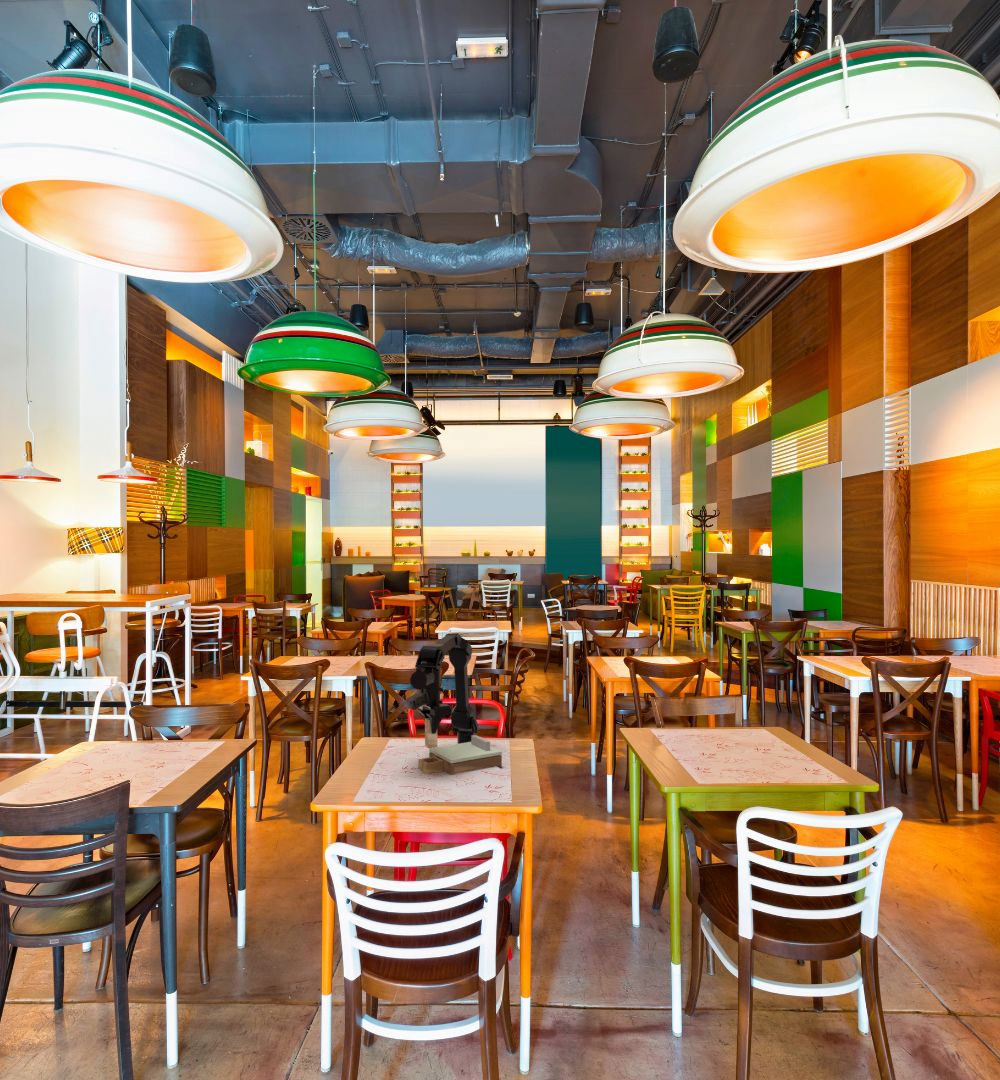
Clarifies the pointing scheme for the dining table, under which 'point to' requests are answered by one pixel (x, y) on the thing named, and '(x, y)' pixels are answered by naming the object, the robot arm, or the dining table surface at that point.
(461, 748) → the lid
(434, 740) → the brown wooden block
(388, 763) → the dining table surface
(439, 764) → the wooden box tray
